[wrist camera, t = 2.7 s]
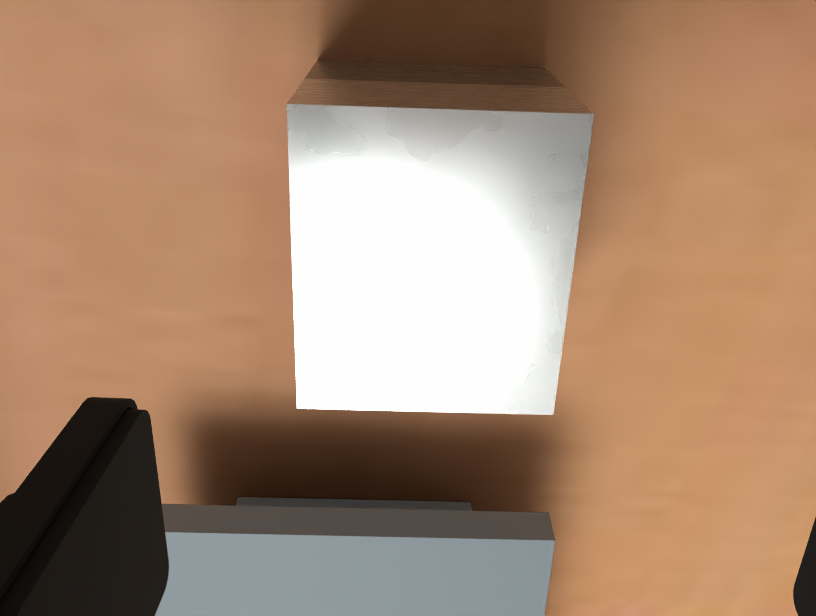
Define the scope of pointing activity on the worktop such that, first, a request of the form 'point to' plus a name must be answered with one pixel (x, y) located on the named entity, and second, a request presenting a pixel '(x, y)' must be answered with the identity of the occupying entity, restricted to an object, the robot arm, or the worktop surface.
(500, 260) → the block
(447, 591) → the stand
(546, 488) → the worktop surface
